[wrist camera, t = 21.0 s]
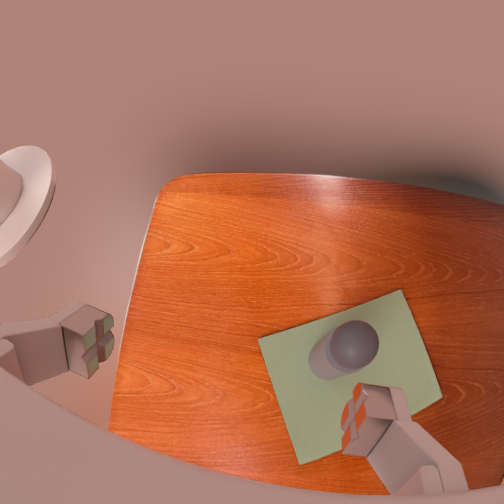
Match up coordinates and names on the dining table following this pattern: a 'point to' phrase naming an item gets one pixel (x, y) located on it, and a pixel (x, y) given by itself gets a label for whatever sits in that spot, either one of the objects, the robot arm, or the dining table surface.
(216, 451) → the dining table surface
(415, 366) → the mat
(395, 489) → the robot arm
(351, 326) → the ball
